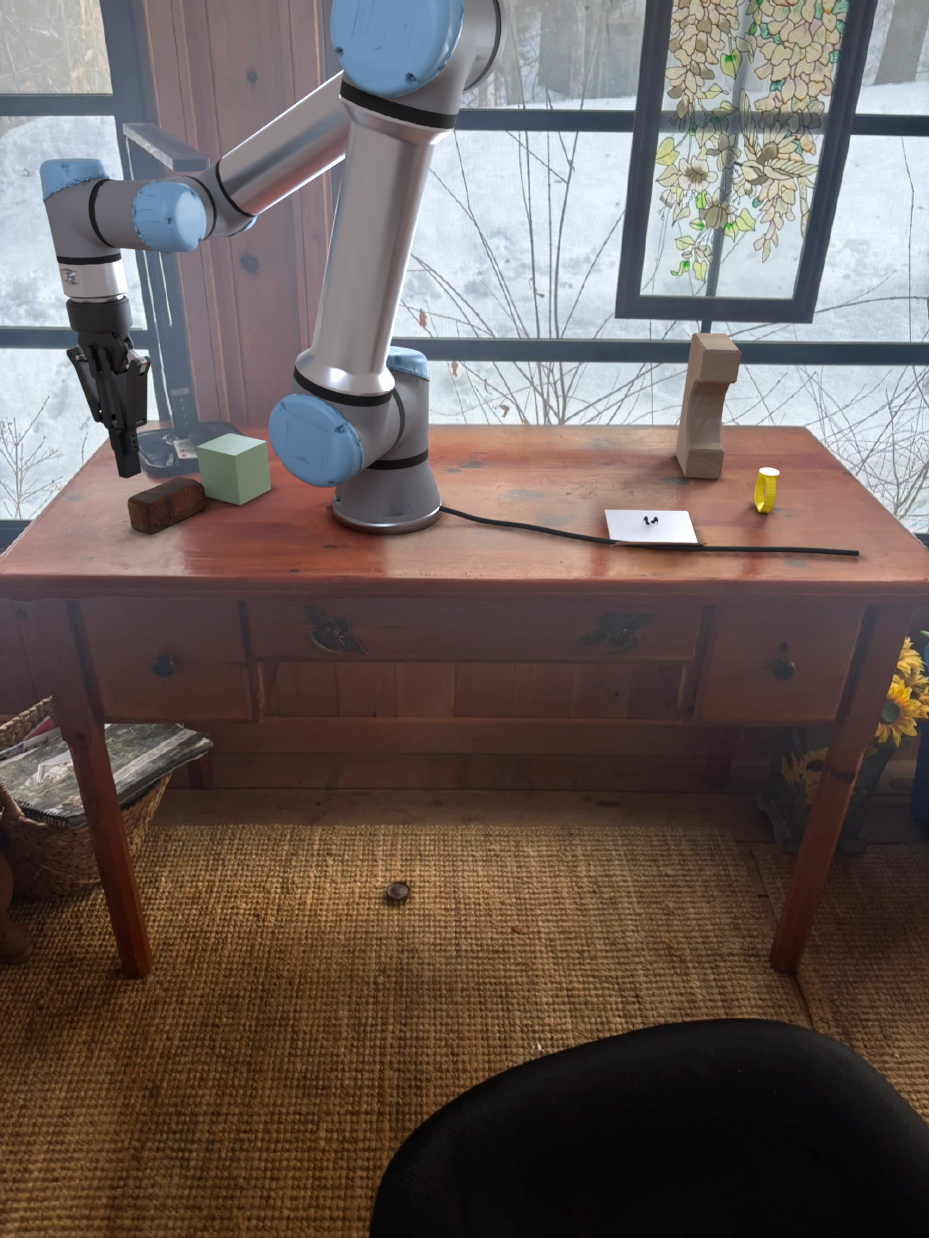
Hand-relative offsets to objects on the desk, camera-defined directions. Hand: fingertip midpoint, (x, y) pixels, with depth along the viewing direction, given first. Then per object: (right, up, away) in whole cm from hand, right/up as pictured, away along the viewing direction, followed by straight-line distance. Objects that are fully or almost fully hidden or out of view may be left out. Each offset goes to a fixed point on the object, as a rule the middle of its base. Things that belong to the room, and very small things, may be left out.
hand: (130, 474), depth 126 cm
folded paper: (+72, -9, -1) cm, 72 cm away
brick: (+6, -6, 0) cm, 8 cm away
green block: (+13, -1, +9) cm, 15 cm away
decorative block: (+84, +4, +22) cm, 87 cm away
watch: (+90, -4, +7) cm, 90 cm away
